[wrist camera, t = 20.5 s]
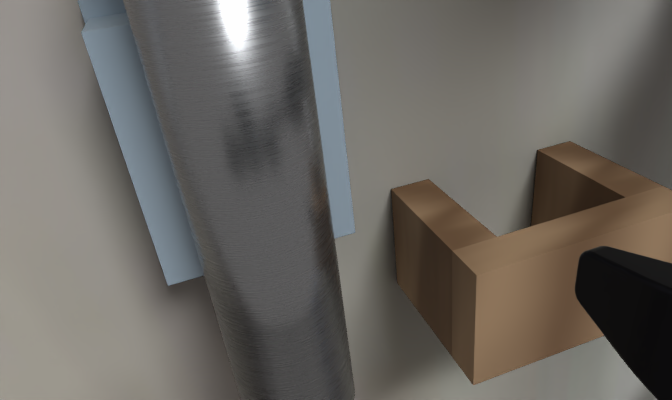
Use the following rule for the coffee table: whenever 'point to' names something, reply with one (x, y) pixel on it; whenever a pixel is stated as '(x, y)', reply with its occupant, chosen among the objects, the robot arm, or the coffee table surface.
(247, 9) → the axle
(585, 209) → the tunnel block
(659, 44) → the coffee table surface
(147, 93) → the cradle
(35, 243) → the coffee table surface
